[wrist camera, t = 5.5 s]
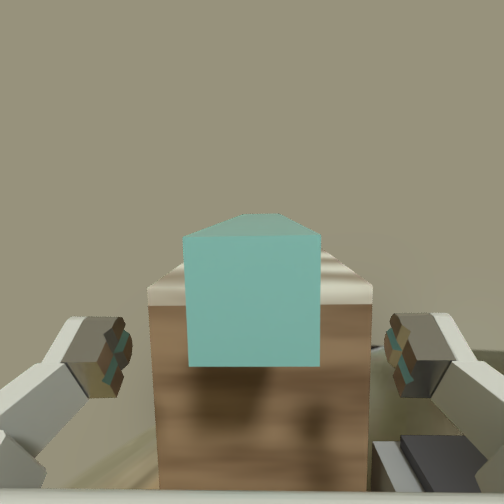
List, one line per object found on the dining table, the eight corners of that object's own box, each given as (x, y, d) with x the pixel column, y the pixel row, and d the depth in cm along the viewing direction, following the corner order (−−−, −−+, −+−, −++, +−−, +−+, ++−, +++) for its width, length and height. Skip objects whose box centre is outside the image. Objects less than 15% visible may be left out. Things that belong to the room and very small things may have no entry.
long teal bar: (319, 366, 9) (320, 234, 8) (188, 366, 9) (182, 237, 8) (279, 249, 33) (279, 213, 32) (243, 250, 33) (242, 214, 32)
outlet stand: (360, 688, 21) (372, 285, 17) (172, 681, 21) (147, 288, 18) (315, 463, 39) (317, 244, 36) (214, 462, 40) (206, 246, 36)
